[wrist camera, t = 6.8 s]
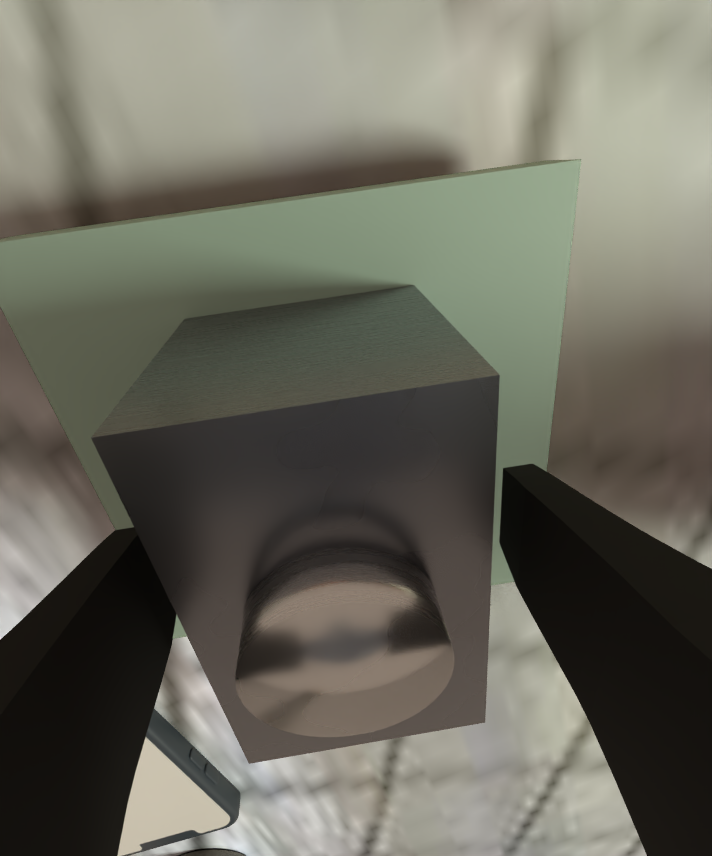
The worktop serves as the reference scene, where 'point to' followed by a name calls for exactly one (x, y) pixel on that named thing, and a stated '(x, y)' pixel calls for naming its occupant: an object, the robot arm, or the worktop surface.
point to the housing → (320, 513)
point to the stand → (305, 290)
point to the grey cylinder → (213, 853)
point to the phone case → (174, 793)
